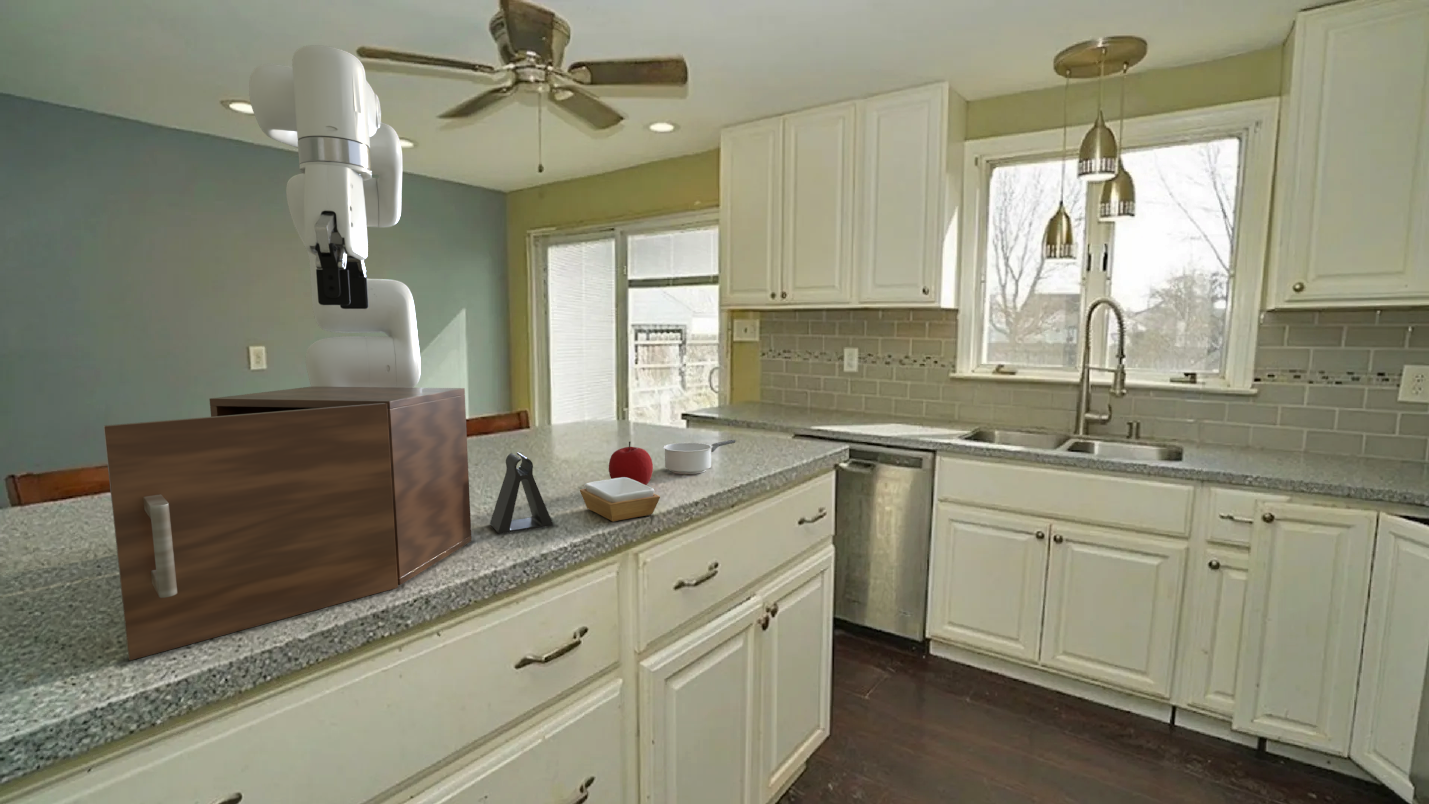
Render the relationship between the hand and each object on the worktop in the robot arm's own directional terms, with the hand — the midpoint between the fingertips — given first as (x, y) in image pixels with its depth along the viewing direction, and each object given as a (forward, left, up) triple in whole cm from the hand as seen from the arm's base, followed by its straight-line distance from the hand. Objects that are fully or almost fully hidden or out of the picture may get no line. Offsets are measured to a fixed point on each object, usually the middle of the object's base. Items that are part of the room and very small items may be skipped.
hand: (345, 306), depth 81 cm
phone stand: (+8, +29, -36) cm, 47 cm away
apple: (+19, +57, -36) cm, 70 cm away
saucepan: (+30, +79, -36) cm, 92 cm away
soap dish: (+22, +39, -36) cm, 57 cm away
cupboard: (-9, +11, -36) cm, 38 cm away
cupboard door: (-1, -11, -35) cm, 37 cm away
